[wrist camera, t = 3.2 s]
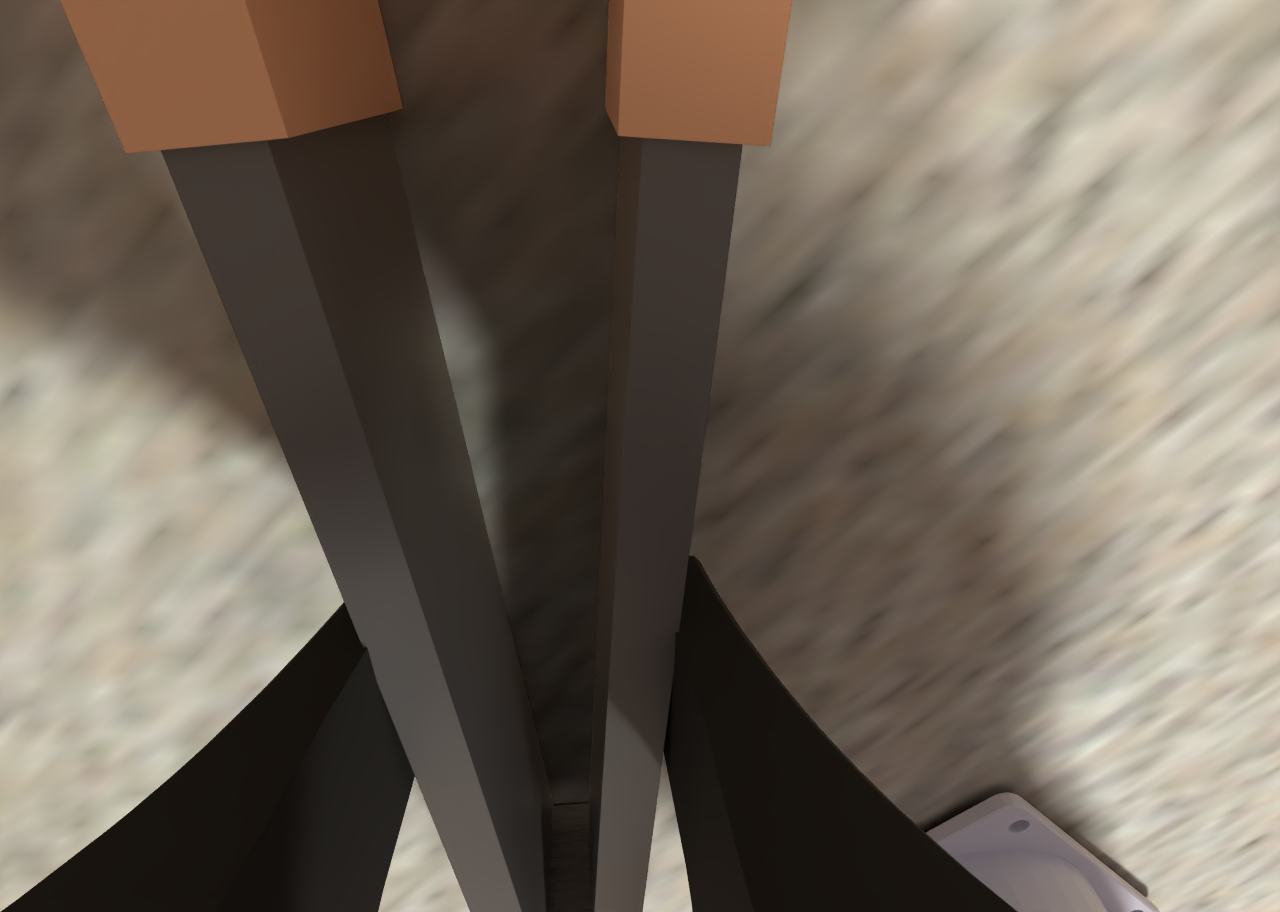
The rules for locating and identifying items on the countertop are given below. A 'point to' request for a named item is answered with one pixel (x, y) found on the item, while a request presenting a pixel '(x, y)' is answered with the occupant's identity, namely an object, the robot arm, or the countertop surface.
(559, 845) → the tongs hub
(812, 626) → the countertop surface
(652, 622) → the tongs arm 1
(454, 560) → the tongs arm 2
